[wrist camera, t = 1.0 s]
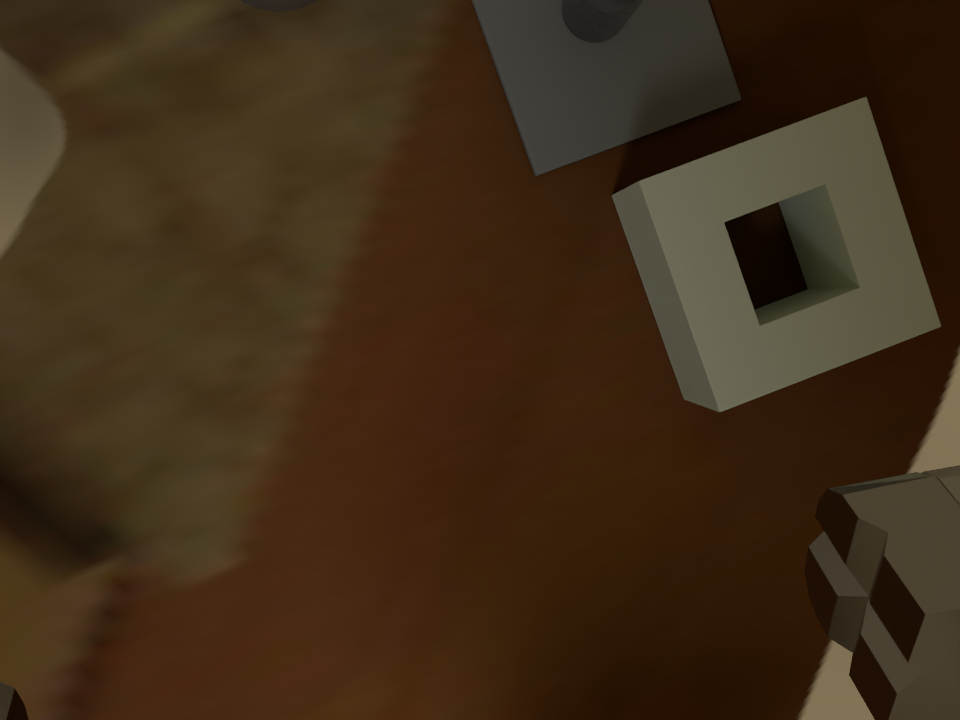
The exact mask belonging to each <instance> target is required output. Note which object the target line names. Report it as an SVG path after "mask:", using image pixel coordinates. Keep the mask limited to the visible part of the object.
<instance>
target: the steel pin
mask: <svg viewBox="0 0 960 720" xmlns="http://www.w3.org/2000/svg"><path fill="white" fill-rule="evenodd" d="M643 1H644V0H562V4H561V12H562V17H563V20H564V23H565V25H566V26H567V28H568V29H569V31H570V32H571V33H572V34H573V35H575V36H576V37H577V38H579V39H581V40H583V41H586V42H591V43H599V42H604V41H607V40H609V39H611V38H613V37H614V36H615V35H617V34H618V33H619V32H620V30H621V29H622V28H623V26H624V25H625V24H626V23H627V21H628V20H629V19H630V17H631V16H632V15H633V14H634V12H635V11H636V10H637V8H638V7H639V6H640V5H641V3H642V2H643Z"/></svg>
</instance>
